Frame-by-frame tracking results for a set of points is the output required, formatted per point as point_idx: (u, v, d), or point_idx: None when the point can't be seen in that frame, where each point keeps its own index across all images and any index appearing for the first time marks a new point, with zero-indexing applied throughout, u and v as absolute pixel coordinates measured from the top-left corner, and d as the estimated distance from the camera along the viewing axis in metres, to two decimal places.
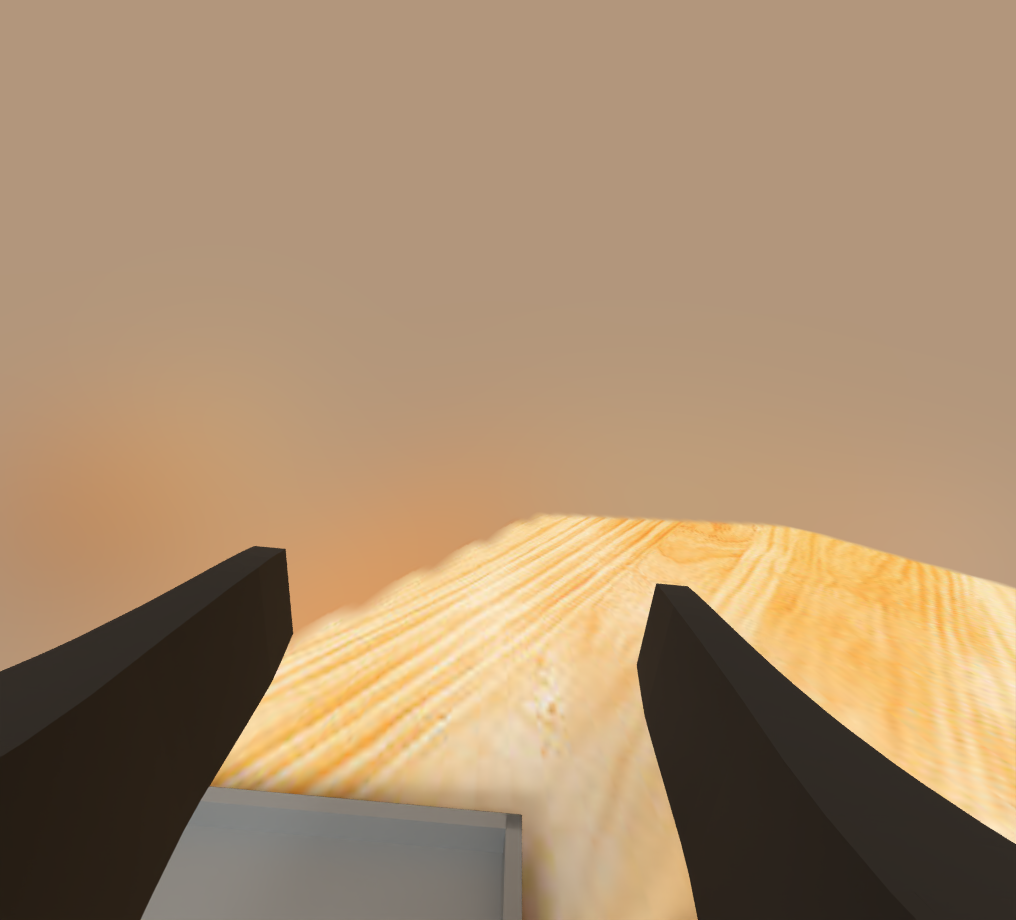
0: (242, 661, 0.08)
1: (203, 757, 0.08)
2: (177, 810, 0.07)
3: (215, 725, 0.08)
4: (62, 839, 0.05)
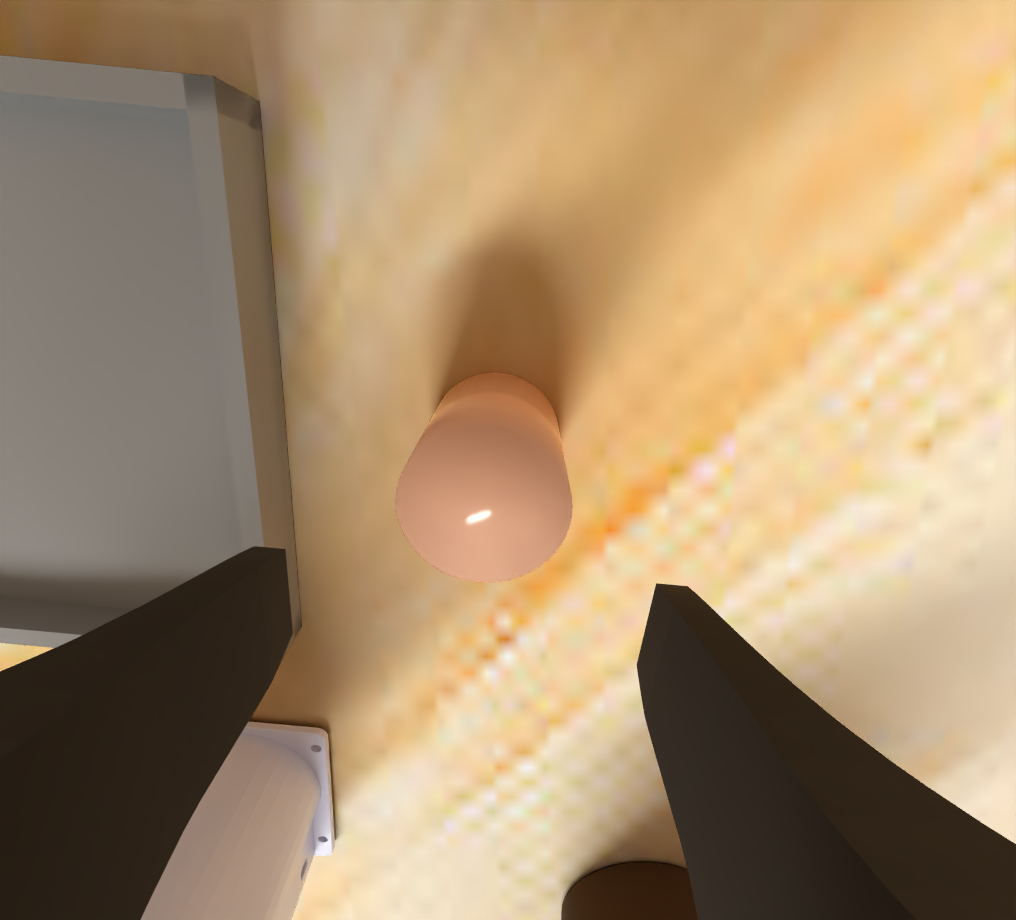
0: (242, 661, 0.08)
1: (203, 757, 0.08)
2: (177, 810, 0.07)
3: (215, 725, 0.08)
4: (62, 839, 0.05)
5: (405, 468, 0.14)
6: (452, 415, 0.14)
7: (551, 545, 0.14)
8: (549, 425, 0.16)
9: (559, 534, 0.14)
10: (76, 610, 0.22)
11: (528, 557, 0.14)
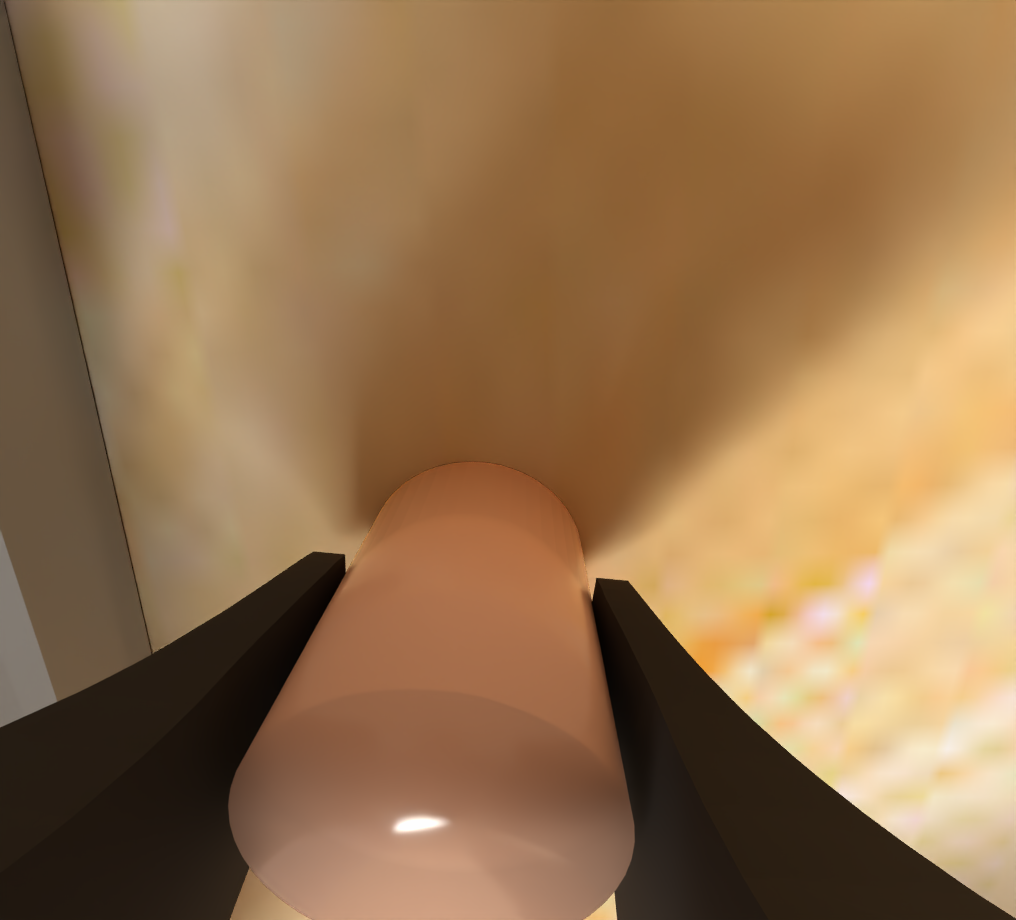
0: None
1: None
2: None
3: None
4: (171, 849, 0.05)
5: (243, 765, 0.06)
6: (366, 613, 0.07)
7: (584, 904, 0.06)
8: (574, 598, 0.08)
9: (602, 885, 0.06)
10: None
11: (533, 919, 0.07)
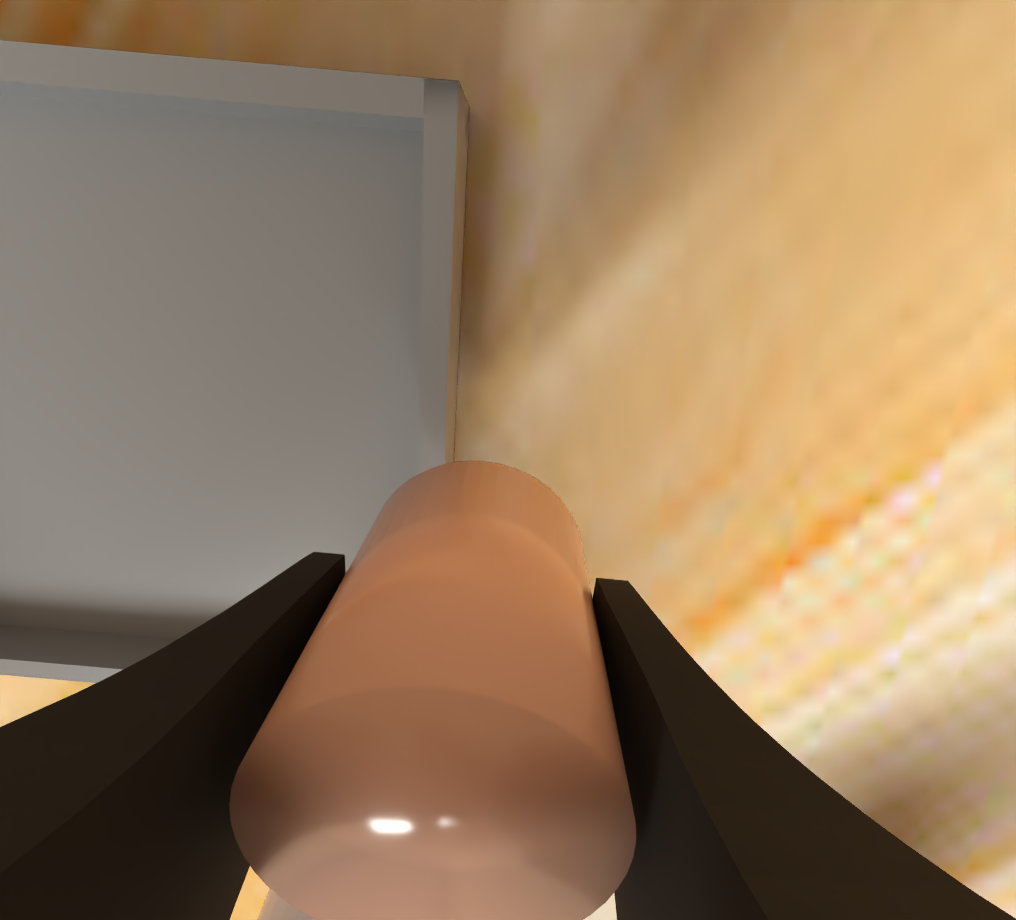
0: None
1: None
2: None
3: None
4: (171, 849, 0.05)
5: (244, 764, 0.06)
6: (367, 611, 0.07)
7: (585, 903, 0.06)
8: (575, 597, 0.08)
9: (604, 884, 0.06)
10: None
11: (534, 918, 0.07)
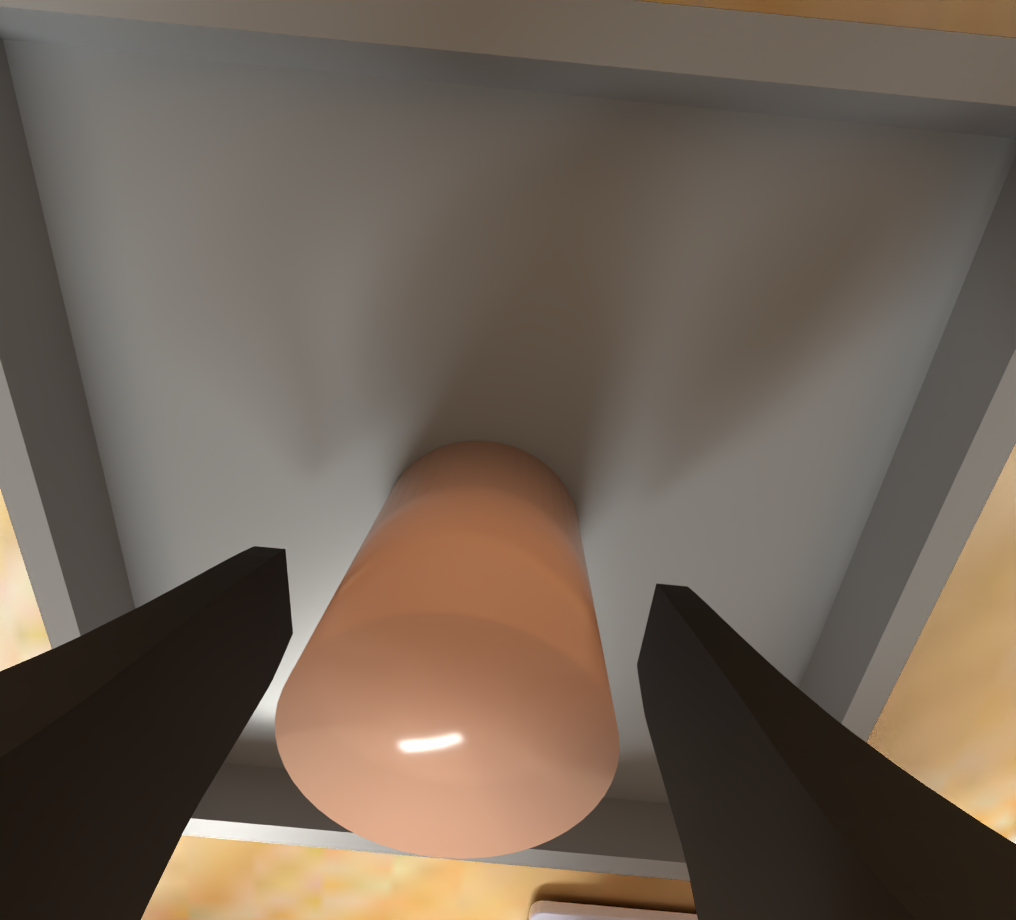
0: (242, 661, 0.08)
1: (203, 757, 0.08)
2: (177, 810, 0.07)
3: (215, 725, 0.08)
4: (62, 839, 0.05)
5: (288, 683, 0.07)
6: (389, 560, 0.08)
7: (577, 809, 0.08)
8: (569, 555, 0.09)
9: (592, 792, 0.07)
10: None
11: (533, 825, 0.08)
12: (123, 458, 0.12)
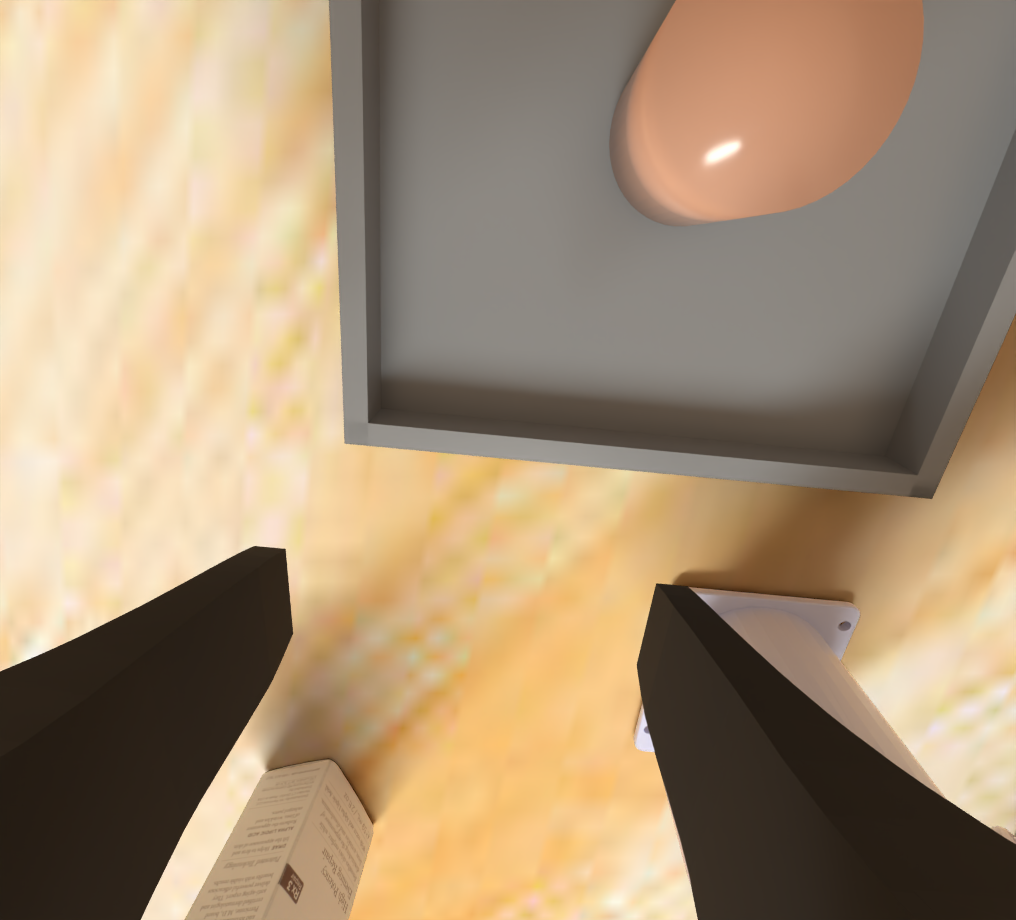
0: (242, 661, 0.08)
1: (203, 757, 0.08)
2: (177, 810, 0.07)
3: (215, 725, 0.08)
4: (62, 839, 0.05)
5: None
6: None
7: (874, 137, 0.10)
8: None
9: (889, 117, 0.10)
10: (662, 438, 0.18)
11: (835, 163, 0.10)
12: (399, 63, 0.15)
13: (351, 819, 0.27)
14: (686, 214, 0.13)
